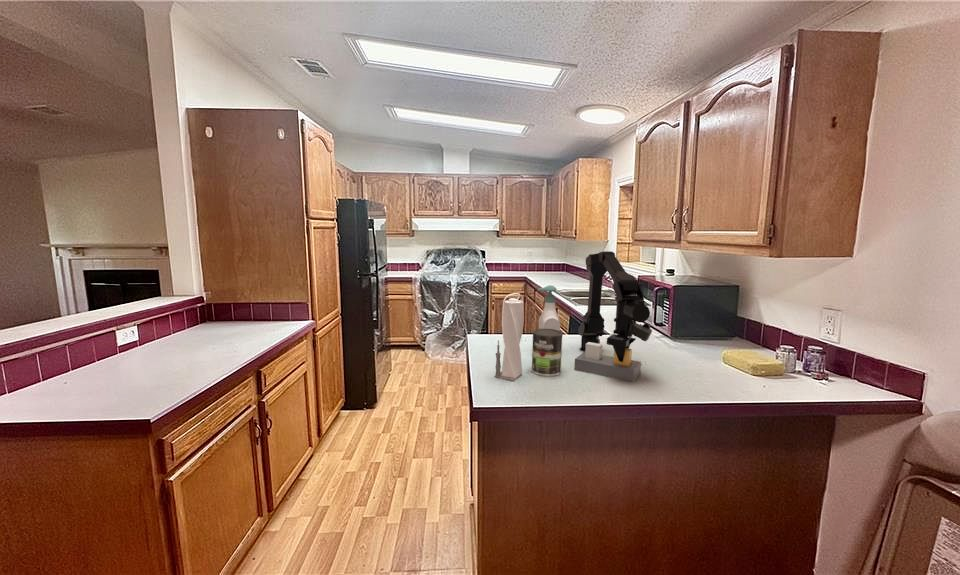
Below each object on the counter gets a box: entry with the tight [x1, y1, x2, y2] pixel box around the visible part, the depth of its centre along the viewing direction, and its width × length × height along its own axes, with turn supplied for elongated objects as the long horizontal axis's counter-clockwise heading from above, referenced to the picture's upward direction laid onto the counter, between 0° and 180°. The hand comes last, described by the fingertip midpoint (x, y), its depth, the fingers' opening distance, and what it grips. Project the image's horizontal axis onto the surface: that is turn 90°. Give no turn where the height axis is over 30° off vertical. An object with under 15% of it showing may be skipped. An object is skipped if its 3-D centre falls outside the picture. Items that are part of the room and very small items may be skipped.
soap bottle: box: [537, 285, 561, 331], centre depth 156 cm, size 11×8×27 cm
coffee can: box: [531, 328, 564, 377], centre depth 137 cm, size 10×10×14 cm
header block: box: [574, 351, 642, 383], centre depth 137 cm, size 20×10×4 cm, turn 55°
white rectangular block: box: [584, 342, 603, 361], centre depth 140 cm, size 5×3×8 cm, turn 55°
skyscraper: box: [493, 292, 525, 382], centre depth 131 cm, size 8×8×28 cm
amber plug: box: [613, 348, 633, 366], centre depth 134 cm, size 5×3×8 cm, turn 55°
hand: (622, 360), depth 134 cm, fingers closed on amber plug, 3 cm apart
